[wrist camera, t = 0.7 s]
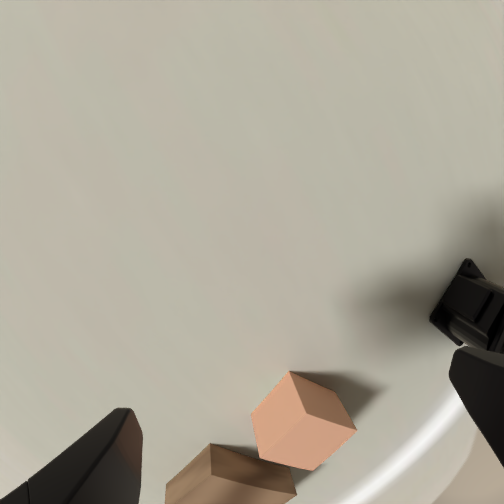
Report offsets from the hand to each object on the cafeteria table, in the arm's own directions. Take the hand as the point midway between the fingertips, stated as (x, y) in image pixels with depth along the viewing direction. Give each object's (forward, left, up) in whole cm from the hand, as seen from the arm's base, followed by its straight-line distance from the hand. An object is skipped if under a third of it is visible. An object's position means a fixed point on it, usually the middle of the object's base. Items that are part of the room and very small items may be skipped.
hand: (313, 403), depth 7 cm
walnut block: (-11, +20, -13) cm, 26 cm away
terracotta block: (-10, +8, -13) cm, 18 cm away
